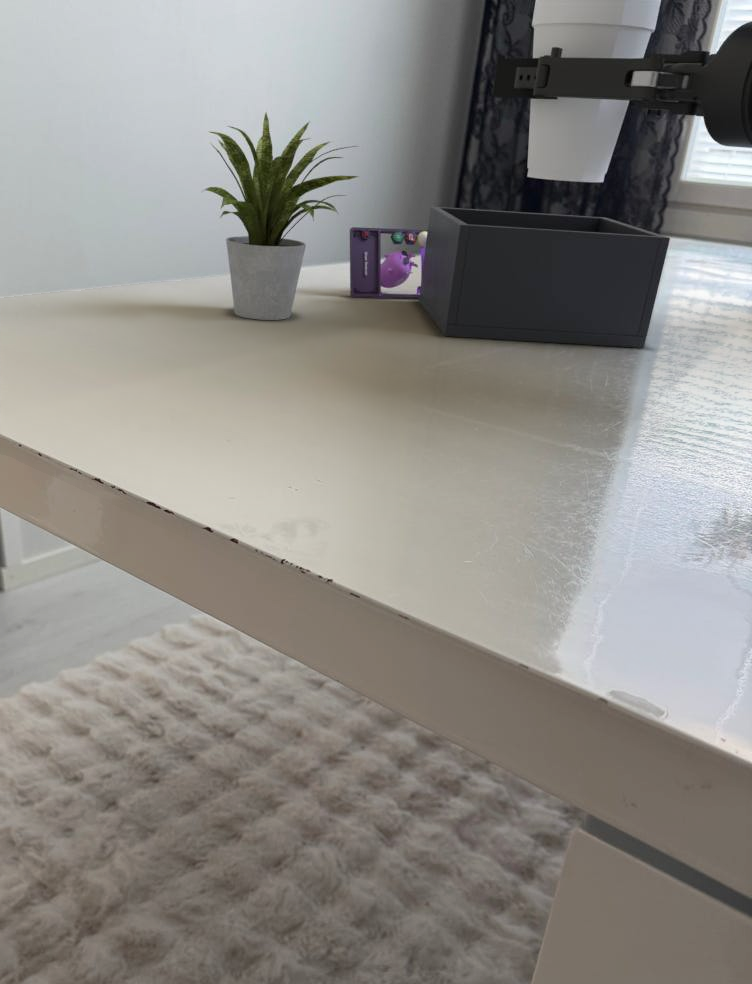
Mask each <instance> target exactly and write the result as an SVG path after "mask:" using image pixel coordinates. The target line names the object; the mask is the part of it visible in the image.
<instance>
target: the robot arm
mask: <svg viewBox="0 0 752 984" xmlns="http://www.w3.org/2000/svg"><path fill="white" fill-rule="evenodd" d="M561 54H562V48H558V47H552V50H551V56H549V55H544V57H543V56H541V57H539V58H533V57H524V58H523V57H521V58H520V57H519V58H517V57H515V58H513V57H511V58H510V57H509V58H507V57H506V58H504V57H503V58H497V59H496V66H495V73H494V74H495V75H494V81H493V88H492V95H491V97H492V98H498V99H499V98H500V99H527V100H531V99H556V100H557V97H567V98H587V99H608V100H629V104H628V107H635V108H636V109H641V110H646V112H645V116H653V117H654V116H656V117H661V115H662V111H668V112H670V114H672V115H677V116H696V117H702V118H703V123H704V125H705V128H706V132H707V133H708V134H709V136H710V137H711V139H712V140H713V141H714V142H715V143H717V144H719V145H720V146H724V147H733V148H744V149H745V148H748V149H752V21H749V22H746V23H743V24H742V25H740V26H739V27H736V29H734V30H733V31H732V32H731V33H730V34H729V35H728V36H727V37H726V39H725V40H724V41H723V42H722V43H721V45H720V46H719V48H718V50H717V51H716V53H711V51H708V50H685V51H684V52H682V53H680V54H679V53H678V54H674V53H673V54H672V53H671V54H670V53H648V54H645V55H644V57H643V58H562V57H561ZM664 64H667V65H664Z"/></svg>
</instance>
